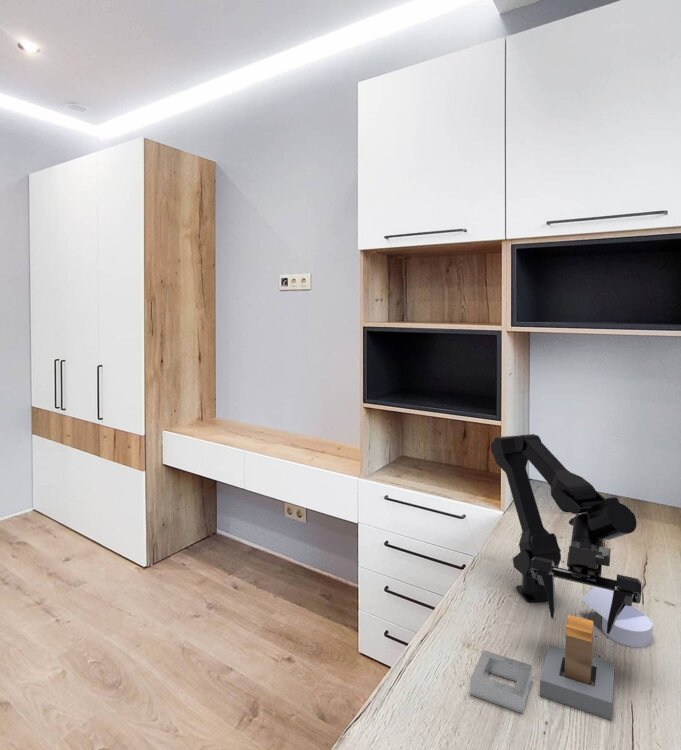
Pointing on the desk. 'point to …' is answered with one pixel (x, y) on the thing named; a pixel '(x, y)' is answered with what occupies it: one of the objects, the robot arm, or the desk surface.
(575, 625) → the plug
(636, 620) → the wedge on round base
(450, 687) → the desk surface
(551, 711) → the desk surface
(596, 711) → the socket
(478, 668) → the frame
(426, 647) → the desk surface
